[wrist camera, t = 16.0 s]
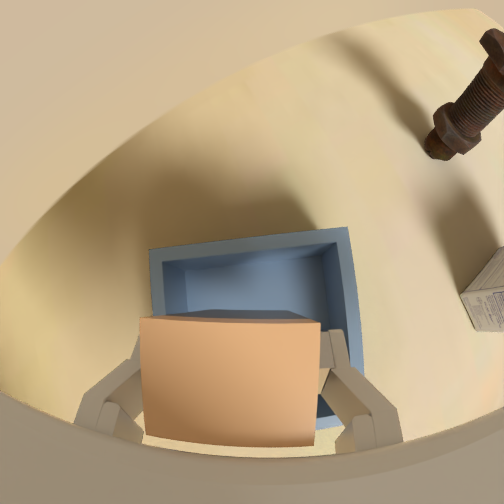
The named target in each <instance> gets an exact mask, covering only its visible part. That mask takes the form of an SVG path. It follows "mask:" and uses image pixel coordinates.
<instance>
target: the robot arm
mask: <svg viewBox="0 0 504 504" xmlns="http://www.w3.org/2000/svg"><path fill="white" fill-rule="evenodd" d="M318 394H321V396H322V397H323V398H324V400H325V401H326V402H327V404H328V405H329V406H330V408H331V409H332V410H333V412H334V413H335V414H336V416H337V417H338V418H339V420H340V421H341V422H342V424H343V425H344V426H345V429H344V431H343V432H342V433H341V434H340V436H339V437H338V438H337V439H336V441H335V450H336V454H332V455H322V456H309V457H288V458H252V457H231V456H218V455H208V454H199V453H191V452H184V451H178V450H171V449H166V448H160V447H155V446H150V445H146V444H141V443H142V438H143V433H144V431H143V430H142V428H141V427H140V426H139V425H138V424H137V423H136V422H135V421H134V419H135V418H136V417H137V416H138V415H139V414H140V413H141V412H142V411H143V399H142V385H141V365H140V334H139V336H138V339H137V342H136V345H135V347H134V350H133V353H132V355H131V358H130V360H129V359H126V360H125V361H124V362H123V363H121V364H120V365H119V366H118V367H116V368H115V369H114V370H113V371H112V372H110V373H109V374H108V375H107V376H105V377H104V378H103V379H102V380H101V381H99V382H98V383H97V384H96V385H94V386H93V387H92V388H91V389H89V390H88V391H87V392H86V393H85V394H84V395H83V398H82V401H81V404H80V406H79V409H78V412H77V415H76V418H75V420H74V423H70V422H68V421H65V420H63V419H60V418H57V417H55V416H53V415H50V414H48V413H46V412H43V411H41V410H39V409H37V408H34V407H32V406H30V405H28V404H26V403H24V402H22V401H20V400H18V399H16V398H14V397H12V396H10V395H8V394H6V393H5V392H3V391H1V390H0V504H504V407H502V408H500V409H497V410H495V411H493V412H491V413H489V414H486V415H484V416H482V417H479V418H477V419H474V420H472V421H469V422H467V423H464V424H461V425H459V426H456V427H453V428H450V429H447V430H444V431H441V432H438V433H435V434H432V435H428V436H425V437H421V438H418V439H414V440H410V441H406V442H403V437H402V432H401V427H400V422H399V417H398V413H397V409H396V408H395V407H394V406H393V405H392V404H391V403H390V402H389V401H388V400H387V399H386V398H385V397H384V396H383V395H382V394H381V393H380V392H379V391H378V390H377V389H376V388H375V387H374V386H373V385H372V384H371V383H370V382H369V381H368V380H367V379H366V378H365V377H364V376H363V375H362V374H361V373H360V372H359V371H358V370H357V369H356V368H355V367H351V366H350V361H349V356H348V351H347V346H346V342H345V337H344V333H343V331H342V329H334V330H327V329H326V330H320V362H319V383H318Z"/></svg>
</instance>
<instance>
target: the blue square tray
mask: <svg viewBox="0 0 504 504" xmlns="http://www.w3.org/2000/svg"><path fill="white" fill-rule="evenodd" d="M149 263H150V282H151V297H152V309H153V316H160V315H169V314H177V313H186V312H194V311H201V310H209V309H223V310H288V311H291V312H294V313H296V314H299V315H301V316H304V317H306V318H309V319H312V320H314V321H317V322H320V323H321V329H320V330H326V329H327V330H334V329H342V331H343V333H344V337H345V342H346V346H347V351H348V356H349V361H350V366H351V367H355V368H356V369H357V370H358V371H359V372H360V373H361V374H362V375H363V376H364V360H363V345H362V332H361V321H360V311H359V302H358V293H357V285H356V278H355V270H354V263H353V257H352V250H351V244H350V238H349V232H348V227H339V228H330V229H320V230H311V231H301V232H292V233H283V234H274V235H265V236H256V237H247V238H239V239H230V240H221V241H213V242H205V243H196V244H188V245H180V246H172V247H164V248H156V249H149ZM341 425H343V424H342V422H341V421H340V420H339V418H338V417H337V416H336V414H335V413H334V412H333V410H332V409H331V408H330V406H329V405H328V404H327V402H326V401H325V400H324V398H323V397H322V396H321V394H318V400H317V414H316V426H315V430H320V429H325V428H331V427H336V426H341Z"/></svg>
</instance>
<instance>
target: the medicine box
mask: <svg viewBox="0 0 504 504" xmlns="http://www.w3.org/2000/svg"><path fill="white" fill-rule="evenodd" d="M460 297H461V299H462V301H463V303H464V305H465V307H466V309H467V311H468V314H469V316H470V318H471V320H472V322H473V325H474V327H475V329H476V331H477V332H501V333H504V246H503V247H500V248H499V249H498V250H497V251H496V253H495V254H494V255H493V257H492V258H491V259H490V261H489V262H488V263H487V264H486V266H485V267H484V268H483V269H482V271H481V272H480V273H479V274H478V275H477V277H476V278H475V279H474V280H473V281H472V283H471V284H470V285H469V286H468V287H467V288H466V289H465V291H464V292H463V293H462V294H460Z"/></svg>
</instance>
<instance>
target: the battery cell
mask: <svg viewBox="0 0 504 504" xmlns="http://www.w3.org/2000/svg"><path fill="white" fill-rule="evenodd" d="M320 329H321V323H320V322H317V321H314V320H312V319H309V318H306V317H304V316H301V315H299V314H296V313H294V312H291V311H288V310H223V309H209V310H201V311H194V312H186V313H177V314H169V315H160V316H151V317H141V318H140V365H141V385H142V399H143V411H144V421H145V431H146V435H150V436H155V437H160V438H166V439H172V440H178V441H185V442H193V443H201V444H211V445H222V446H237V447H302V446H314V437H315V426H316V414H317V400H318V383H319V362H320Z"/></svg>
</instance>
